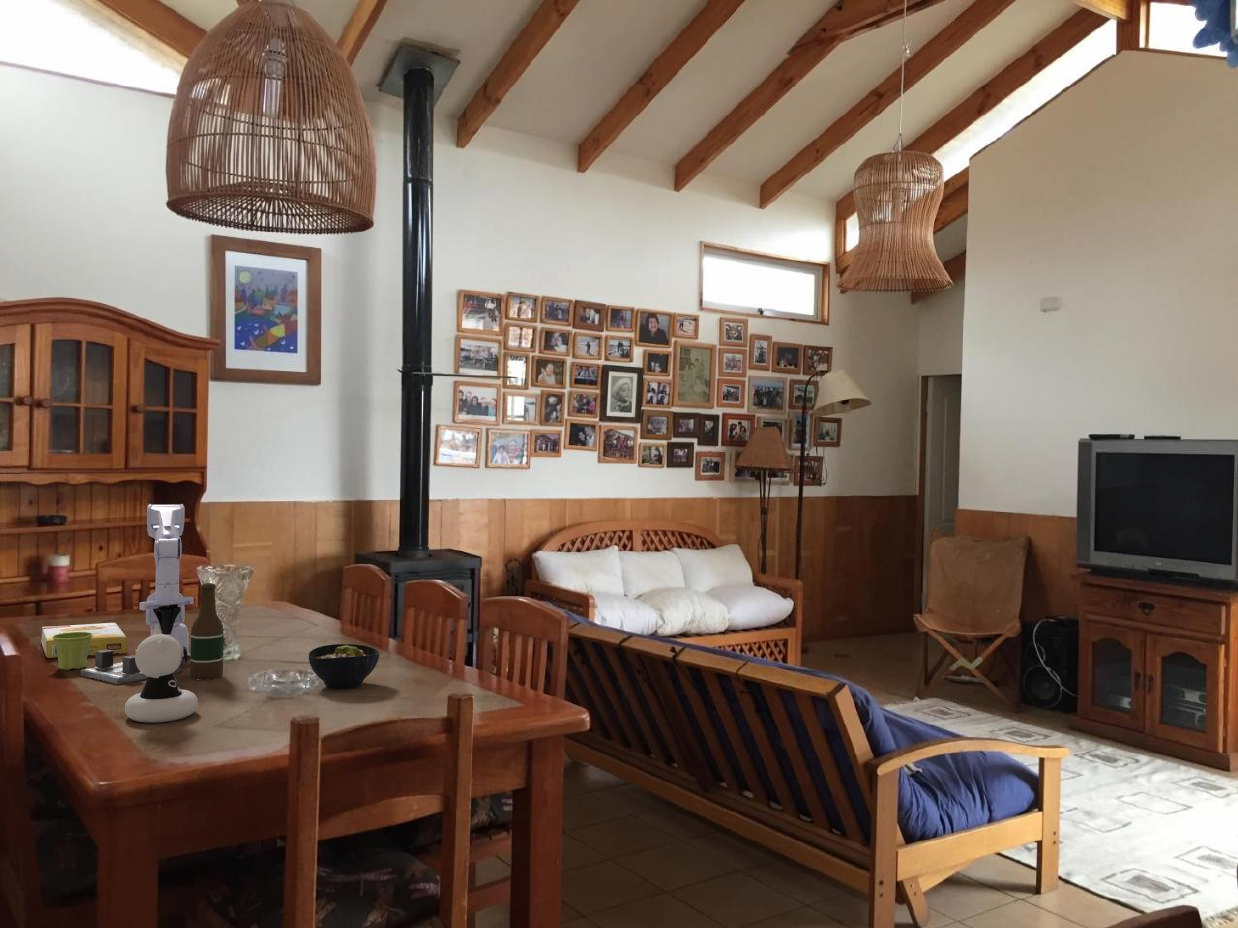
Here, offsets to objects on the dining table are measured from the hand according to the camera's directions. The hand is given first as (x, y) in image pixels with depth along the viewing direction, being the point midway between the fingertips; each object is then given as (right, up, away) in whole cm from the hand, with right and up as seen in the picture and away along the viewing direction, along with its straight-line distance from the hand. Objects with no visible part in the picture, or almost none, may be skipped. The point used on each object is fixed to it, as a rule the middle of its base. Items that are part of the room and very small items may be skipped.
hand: (166, 634), depth 265 cm
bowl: (+52, -10, -17) cm, 55 cm away
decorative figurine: (+21, -10, -48) cm, 53 cm away
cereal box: (-35, -9, +24) cm, 44 cm away
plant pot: (-24, -9, -2) cm, 26 cm away
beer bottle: (+15, -10, -10) cm, 20 cm away
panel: (-5, -9, -8) cm, 13 cm away
